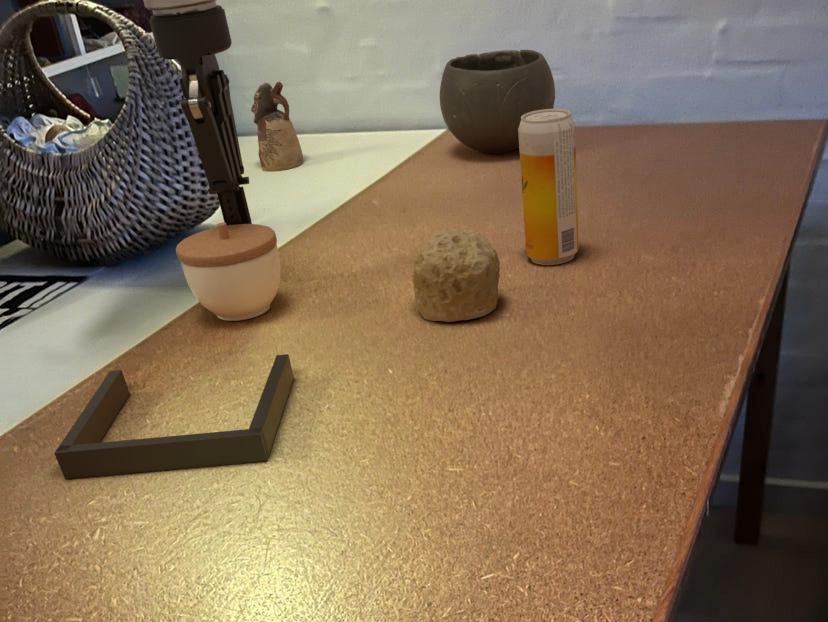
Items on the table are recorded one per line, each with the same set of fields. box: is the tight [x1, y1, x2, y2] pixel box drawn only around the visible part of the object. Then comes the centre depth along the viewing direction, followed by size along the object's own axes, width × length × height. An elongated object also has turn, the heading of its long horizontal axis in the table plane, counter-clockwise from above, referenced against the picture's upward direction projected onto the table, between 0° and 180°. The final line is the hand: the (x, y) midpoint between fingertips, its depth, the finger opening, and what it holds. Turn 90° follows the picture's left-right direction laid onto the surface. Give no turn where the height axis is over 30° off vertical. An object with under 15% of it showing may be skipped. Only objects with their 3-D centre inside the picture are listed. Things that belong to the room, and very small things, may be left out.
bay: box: [53, 353, 295, 480], centre depth 88 cm, size 16×17×2 cm
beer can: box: [518, 108, 580, 266], centre depth 109 cm, size 6×6×15 cm
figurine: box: [250, 81, 304, 172], centre depth 157 cm, size 7×7×12 cm
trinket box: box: [175, 221, 282, 322], centre depth 107 cm, size 11×11×9 cm
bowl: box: [439, 49, 556, 154], centre depth 151 cm, size 18×18×13 cm
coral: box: [412, 228, 501, 323], centre depth 102 cm, size 9×9×8 cm
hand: (244, 249), depth 112 cm, fingers closed
